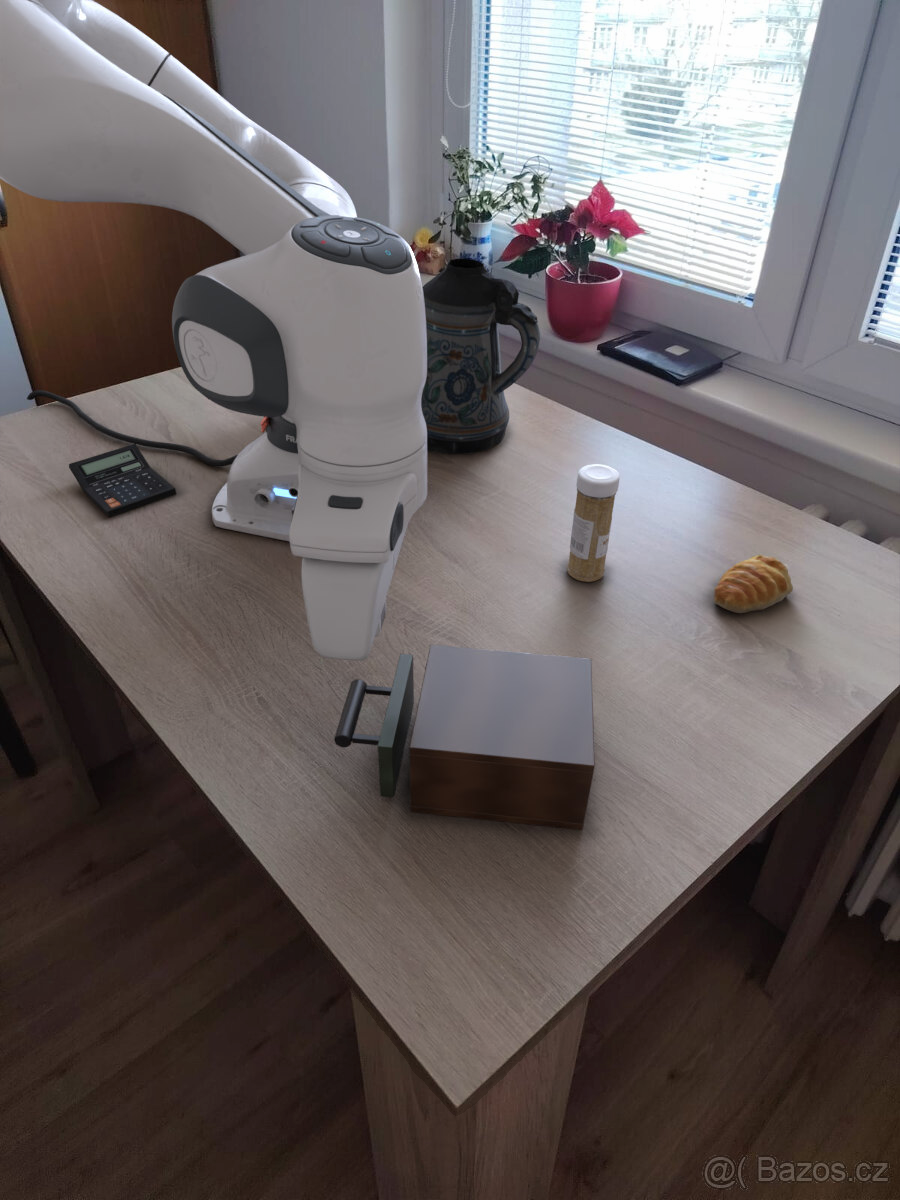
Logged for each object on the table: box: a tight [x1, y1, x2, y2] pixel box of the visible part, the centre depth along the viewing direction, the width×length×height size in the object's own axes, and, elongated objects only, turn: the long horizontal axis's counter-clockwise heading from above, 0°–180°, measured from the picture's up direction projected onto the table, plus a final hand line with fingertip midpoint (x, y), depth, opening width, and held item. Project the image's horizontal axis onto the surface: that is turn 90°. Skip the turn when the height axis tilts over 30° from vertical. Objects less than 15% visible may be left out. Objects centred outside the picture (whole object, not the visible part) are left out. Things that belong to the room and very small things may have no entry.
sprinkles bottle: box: [566, 463, 621, 583], centre depth 94 cm, size 5×5×14 cm
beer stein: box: [421, 258, 541, 455], centre depth 120 cm, size 16×19×25 cm
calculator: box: [68, 443, 177, 518], centre depth 111 cm, size 9×12×3 cm
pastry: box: [713, 554, 794, 615], centre depth 94 cm, size 9×7×4 cm
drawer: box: [333, 653, 427, 799], centre depth 73 cm, size 18×11×6 cm, turn 83°
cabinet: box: [408, 644, 596, 831], centre depth 72 cm, size 15×13×8 cm
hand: (372, 625), depth 66 cm, fingers closed
